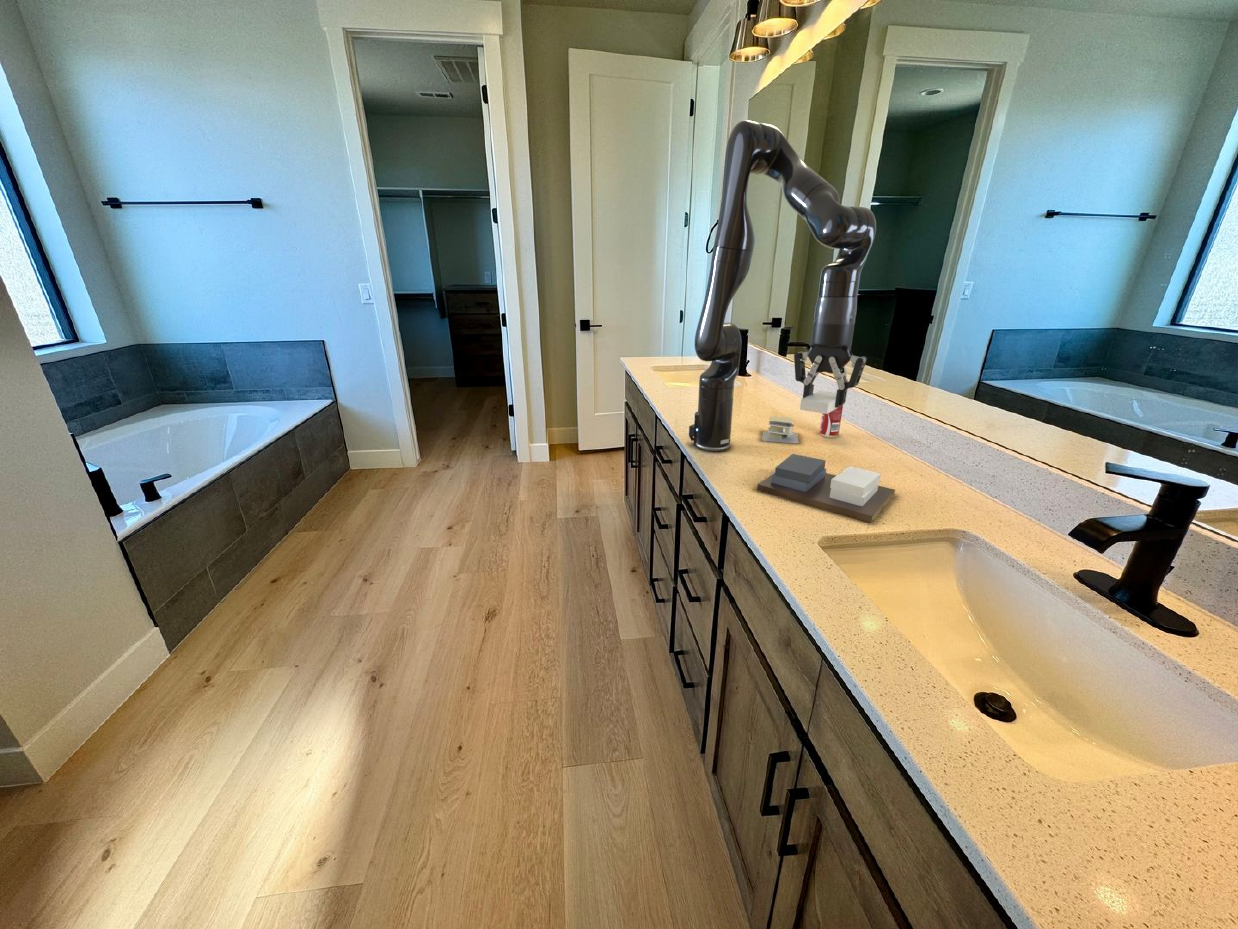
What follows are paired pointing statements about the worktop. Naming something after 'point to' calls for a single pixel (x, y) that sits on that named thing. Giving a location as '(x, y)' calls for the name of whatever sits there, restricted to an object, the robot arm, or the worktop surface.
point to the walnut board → (821, 498)
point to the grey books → (799, 472)
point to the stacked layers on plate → (780, 431)
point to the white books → (854, 485)
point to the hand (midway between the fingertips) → (822, 404)
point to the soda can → (831, 423)
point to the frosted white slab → (819, 402)
